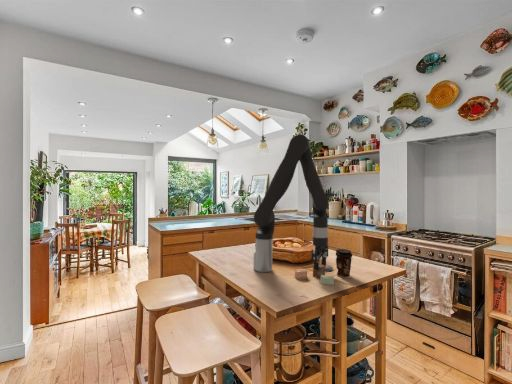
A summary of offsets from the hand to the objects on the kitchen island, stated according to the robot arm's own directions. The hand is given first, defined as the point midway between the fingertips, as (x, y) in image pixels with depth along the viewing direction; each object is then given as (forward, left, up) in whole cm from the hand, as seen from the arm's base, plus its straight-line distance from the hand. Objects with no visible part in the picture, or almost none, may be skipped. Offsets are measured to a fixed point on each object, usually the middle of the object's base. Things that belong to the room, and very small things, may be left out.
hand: (320, 267), depth 136 cm
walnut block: (-1, 0, -5) cm, 5 cm away
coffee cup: (+8, +9, -5) cm, 13 cm away
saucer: (-4, +13, -4) cm, 14 cm away
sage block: (+6, -6, -5) cm, 10 cm away
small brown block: (-7, -8, -5) cm, 11 cm away
